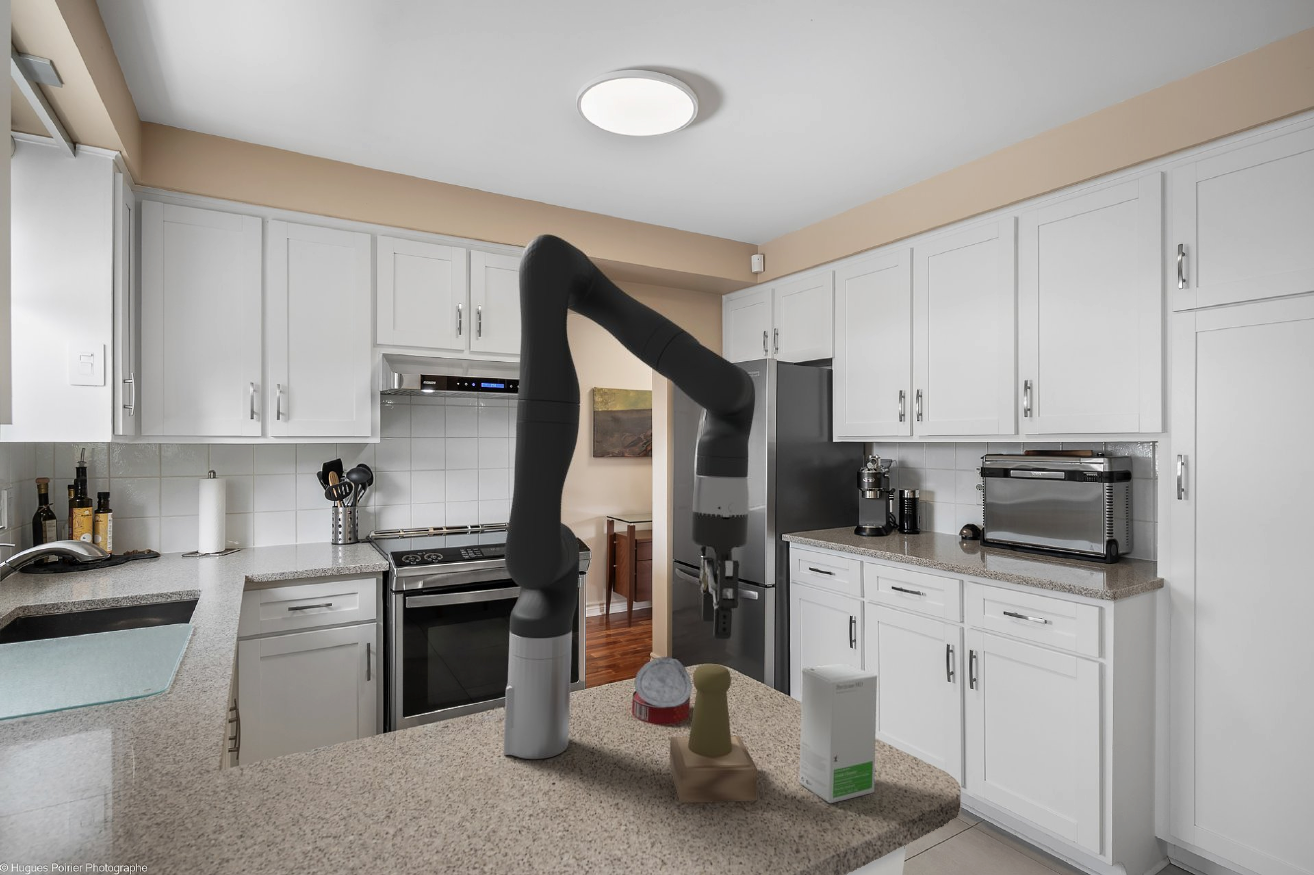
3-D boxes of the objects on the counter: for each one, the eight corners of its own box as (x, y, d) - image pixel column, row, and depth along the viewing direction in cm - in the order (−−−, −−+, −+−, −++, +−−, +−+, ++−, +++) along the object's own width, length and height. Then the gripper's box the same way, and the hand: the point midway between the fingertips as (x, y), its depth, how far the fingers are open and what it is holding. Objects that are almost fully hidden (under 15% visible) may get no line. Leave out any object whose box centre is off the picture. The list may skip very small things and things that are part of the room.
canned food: (686, 736, 116) (714, 689, 114) (654, 750, 107) (684, 700, 106) (642, 691, 122) (668, 647, 120) (609, 701, 114) (636, 653, 112)
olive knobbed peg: (730, 759, 88) (732, 675, 88) (684, 754, 89) (687, 671, 89) (734, 740, 94) (736, 661, 94) (691, 735, 95) (693, 657, 95)
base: (679, 802, 85) (680, 769, 85) (669, 765, 95) (670, 735, 95) (756, 800, 86) (757, 767, 86) (738, 764, 96) (739, 734, 96)
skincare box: (828, 806, 85) (832, 683, 85) (795, 782, 91) (798, 667, 91) (877, 792, 89) (880, 674, 89) (842, 770, 95) (844, 660, 95)
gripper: (685, 504, 98) (680, 615, 97) (702, 514, 83) (697, 644, 83) (735, 505, 98) (731, 616, 98) (761, 516, 84) (756, 645, 84)
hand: (715, 629), depth 91 cm, fingers open, 8 cm apart
